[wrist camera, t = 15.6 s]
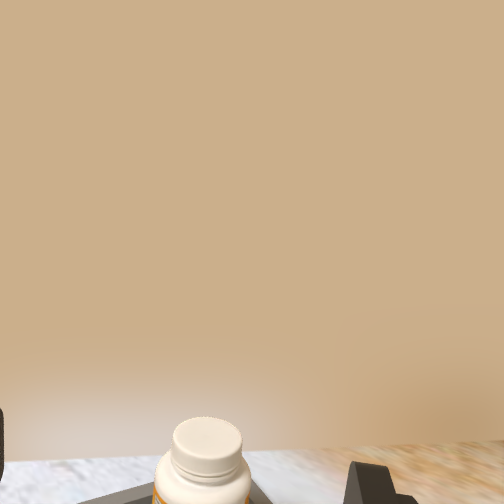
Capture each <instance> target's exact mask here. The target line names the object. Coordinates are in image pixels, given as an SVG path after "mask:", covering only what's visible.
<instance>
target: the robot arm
mask: <svg viewBox="0 0 504 504" xmlns="http://www.w3.org/2000/svg"><path fill="white" fill-rule="evenodd" d="M3 419H4V418H3V412H2V410H1V409H0V481H1V478H2V475H3V470H4V420H3ZM343 504H418V502H417V501H416V500H415V499H414V498H413V497H412V496H409V495H402V494H396V492H395V489H394V485H393V482H392V479H391V476H390V473H389V470H388V468H387V467H386V466H381V465H374V464H368V463H361V462H354V461H352V462H351V464H350V468H349V473H348V479H347V485H346V491H345V497H344V502H343Z"/></svg>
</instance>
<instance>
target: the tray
mask: <svg viewBox="0 0 504 504" xmlns="http://www.w3.org/2000/svg"><path fill="white" fill-rule="evenodd" d="M153 489H154V482H151V483H148V484H144V485H141V486H137V487H134V488H130V489H127V490H123V491H120V492H116V493H113V494H109V495H106V496H102V497H99V498H95V499H92V500H88V501H85V502H81V503H78V504H152V500H153ZM248 504H272V502H271V501H270V500H269V499H268V498H267V496H266V495H265V494H264V493H263V492H262V491H261V489H260V488H259V487H258V486H257V485H256V483H255V482H254V481H253V480H252V479H251V488H250V495H249V503H248Z"/></svg>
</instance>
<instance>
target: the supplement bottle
mask: <svg viewBox="0 0 504 504" xmlns="http://www.w3.org/2000/svg"><path fill="white" fill-rule="evenodd" d="M242 441H243V440H242V436H241V433H240V431H239V430H238V429H237V428H236V427H235V426H234V425H232V424H231V423H229V422H227V421H225V420H221V419H218V418H213V417H196V418H191V419H188V420H186V421H184V422H182V423H180V424H179V425H178V426H177V427H176V429H175V431H174V434H173V439H172V445H171V448H170V450H169V451H168V452H167V453H166V454H165V455H164V456H163V457H162V458H161V459H160V461H159V463H158V465H157V467H156V471H155V478H154V489H153V500H152V504H248V503H249V495H250V488H251V472H250V469H249V466H248V464H247V462H246V461H245V459H244V458H243V457H242V453H241V451H242Z"/></svg>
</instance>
